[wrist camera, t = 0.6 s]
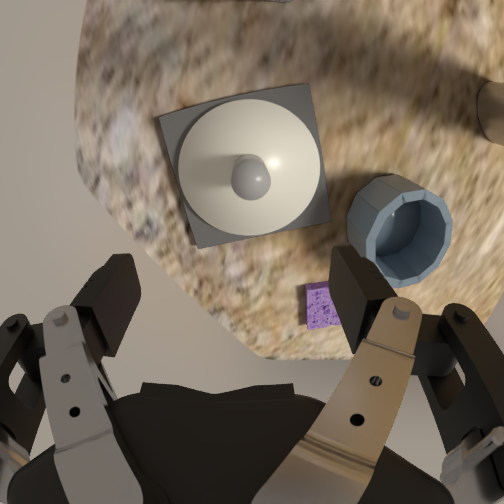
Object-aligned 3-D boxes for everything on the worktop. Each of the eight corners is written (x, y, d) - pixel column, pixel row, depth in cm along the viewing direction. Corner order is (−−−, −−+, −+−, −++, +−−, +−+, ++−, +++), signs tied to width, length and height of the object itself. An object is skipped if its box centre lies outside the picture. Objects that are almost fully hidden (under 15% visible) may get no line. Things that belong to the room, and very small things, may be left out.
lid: (304, 88, 24) (320, 83, 19) (325, 218, 30) (342, 241, 25) (164, 120, 25) (146, 122, 20) (201, 244, 31) (193, 271, 26)
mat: (306, 84, 24) (308, 83, 24) (328, 218, 31) (330, 221, 30) (161, 117, 26) (158, 117, 25) (199, 245, 32) (198, 249, 32)
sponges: (304, 281, 36) (307, 290, 34) (392, 269, 36) (397, 276, 34) (304, 322, 39) (307, 331, 38) (385, 308, 39) (389, 316, 37)
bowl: (422, 169, 29) (454, 184, 23) (420, 249, 34) (445, 274, 28) (341, 181, 29) (364, 199, 24) (348, 266, 34) (366, 297, 29)
